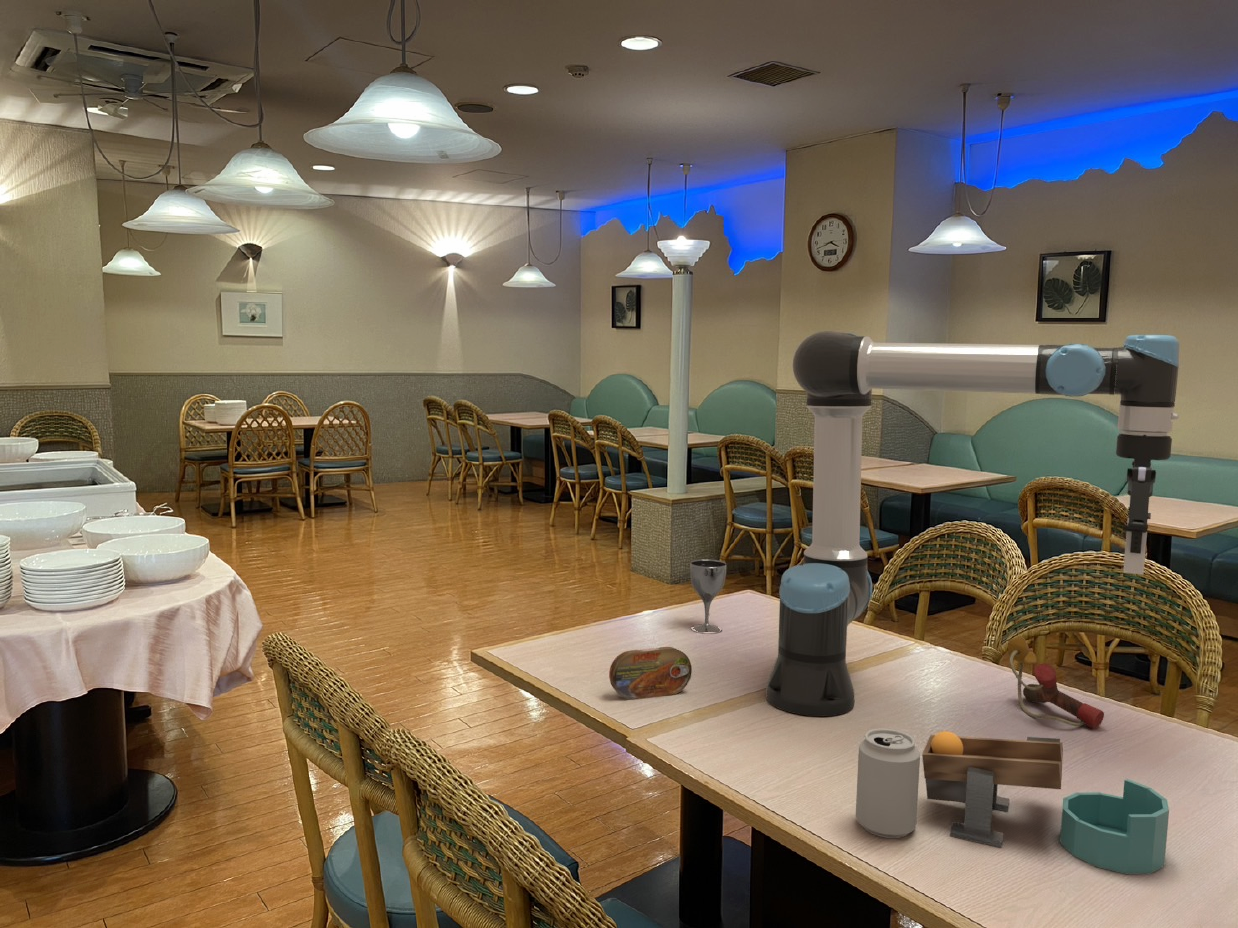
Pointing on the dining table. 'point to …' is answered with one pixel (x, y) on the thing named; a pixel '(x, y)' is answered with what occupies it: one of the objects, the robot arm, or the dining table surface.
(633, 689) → the tin
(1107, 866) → the teal container
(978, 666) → the dining table surface
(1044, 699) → the slingshot
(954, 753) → the ball
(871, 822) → the can
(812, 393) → the robot arm
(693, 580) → the wine glass
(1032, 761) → the lever
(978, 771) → the stand
